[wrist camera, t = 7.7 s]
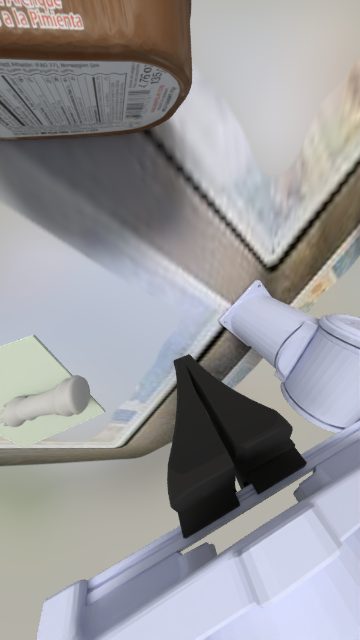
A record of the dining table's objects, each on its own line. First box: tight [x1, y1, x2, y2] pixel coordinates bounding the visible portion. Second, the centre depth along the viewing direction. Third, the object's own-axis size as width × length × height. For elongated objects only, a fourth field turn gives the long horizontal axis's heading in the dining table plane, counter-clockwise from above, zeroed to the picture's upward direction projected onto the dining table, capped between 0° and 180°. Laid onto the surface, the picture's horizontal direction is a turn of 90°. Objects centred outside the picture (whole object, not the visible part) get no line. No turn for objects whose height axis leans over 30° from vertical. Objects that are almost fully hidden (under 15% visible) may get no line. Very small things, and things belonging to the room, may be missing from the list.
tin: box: [0, 0, 192, 140], centre depth 8 cm, size 15×3×8 cm, turn 99°
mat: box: [0, 335, 105, 448], centre depth 20 cm, size 12×16×1 cm
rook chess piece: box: [0, 375, 90, 427], centre depth 19 cm, size 4×4×8 cm
